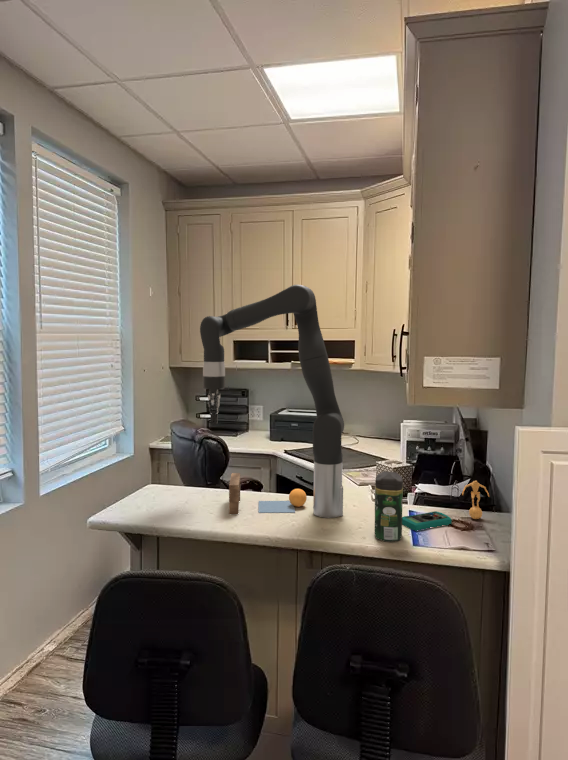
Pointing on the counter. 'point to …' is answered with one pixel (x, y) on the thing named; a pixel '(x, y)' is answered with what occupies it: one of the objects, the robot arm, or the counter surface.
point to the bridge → (234, 493)
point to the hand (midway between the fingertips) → (214, 424)
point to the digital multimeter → (426, 520)
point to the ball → (297, 497)
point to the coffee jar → (388, 506)
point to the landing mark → (276, 507)
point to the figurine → (475, 510)
